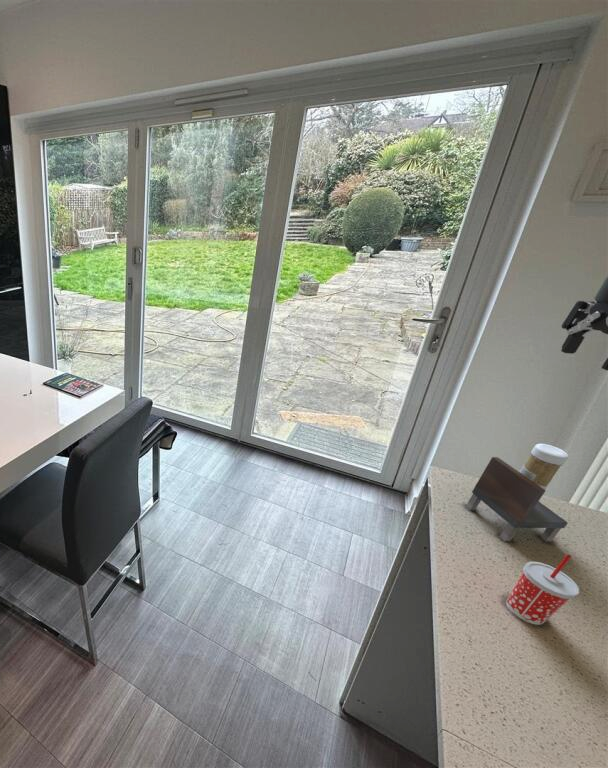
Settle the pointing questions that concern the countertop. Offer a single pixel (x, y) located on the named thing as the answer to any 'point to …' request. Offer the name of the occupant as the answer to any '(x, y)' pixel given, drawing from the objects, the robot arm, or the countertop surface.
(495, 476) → the chair
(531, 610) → the beverage cup
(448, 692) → the countertop surface
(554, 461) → the sprinkles bottle
